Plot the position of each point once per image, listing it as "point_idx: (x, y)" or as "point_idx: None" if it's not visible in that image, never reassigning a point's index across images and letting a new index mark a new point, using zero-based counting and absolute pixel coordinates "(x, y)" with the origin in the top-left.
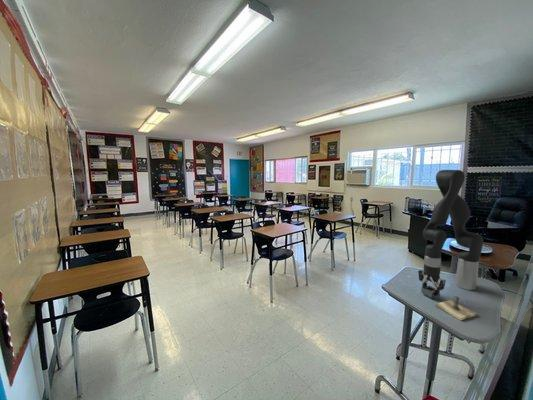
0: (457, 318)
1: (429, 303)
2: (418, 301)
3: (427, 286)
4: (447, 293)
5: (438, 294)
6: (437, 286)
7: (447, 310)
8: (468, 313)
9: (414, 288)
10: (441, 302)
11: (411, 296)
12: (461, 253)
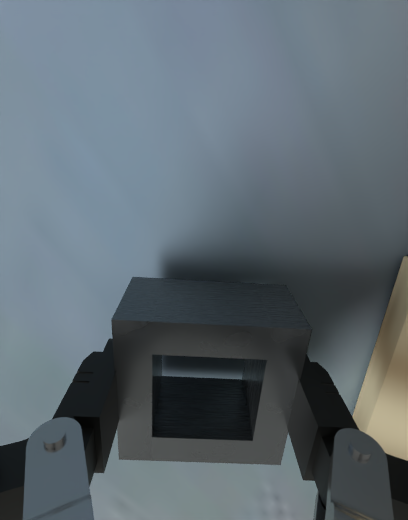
0: None
1: (288, 445)
2: (223, 488)
3: (129, 374)
4: (277, 43)
5: (322, 379)
6: (340, 481)
7: None
8: None
9: (16, 340)
10: (378, 408)
11: (141, 476)
12: None
